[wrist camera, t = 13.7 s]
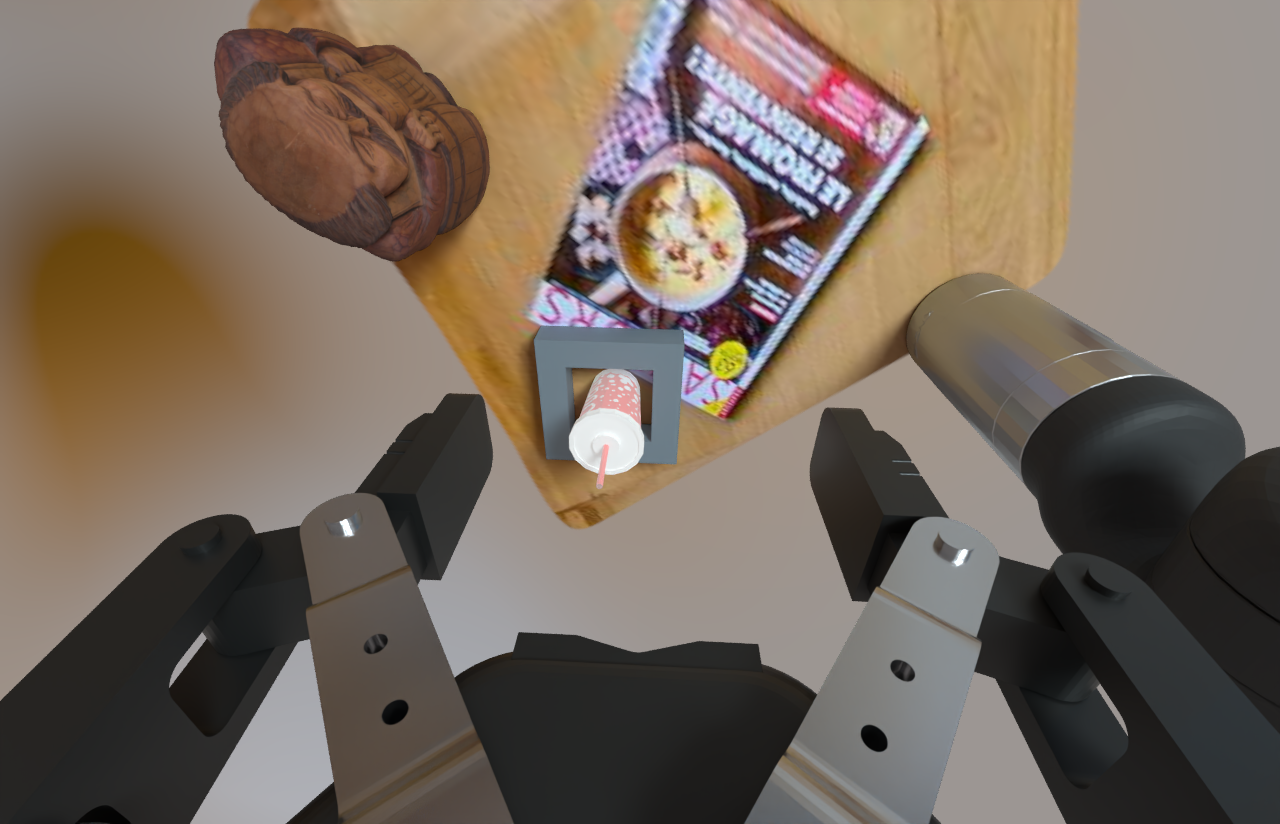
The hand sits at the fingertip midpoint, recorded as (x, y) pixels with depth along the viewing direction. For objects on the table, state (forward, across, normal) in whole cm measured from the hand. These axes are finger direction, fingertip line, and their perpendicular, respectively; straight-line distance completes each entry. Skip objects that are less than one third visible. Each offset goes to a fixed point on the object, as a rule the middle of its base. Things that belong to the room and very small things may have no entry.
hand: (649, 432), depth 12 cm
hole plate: (+32, +4, +18) cm, 37 cm away
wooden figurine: (+32, +17, -4) cm, 37 cm away
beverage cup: (+32, +4, +18) cm, 37 cm away
